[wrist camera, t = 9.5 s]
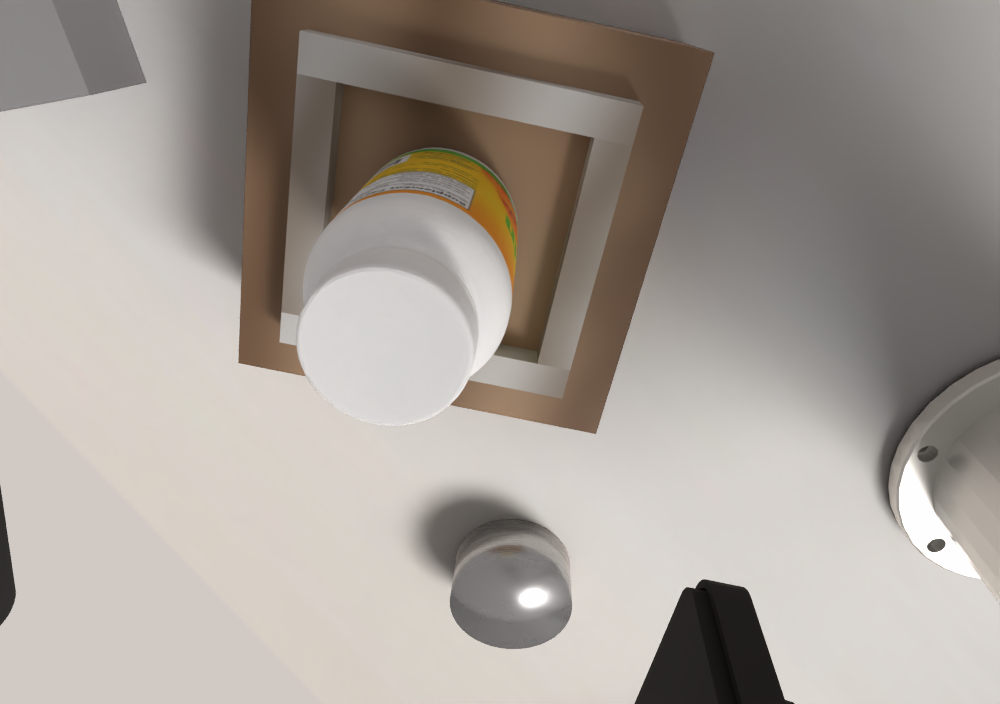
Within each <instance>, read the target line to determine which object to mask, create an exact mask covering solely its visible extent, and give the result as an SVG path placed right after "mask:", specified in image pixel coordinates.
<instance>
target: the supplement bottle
mask: <svg viewBox="0 0 1000 704" xmlns="http://www.w3.org/2000/svg"><path fill="white" fill-rule="evenodd" d="M517 242H518V220H517V214H516V210H515V206H514V203H513V200H512V198H511V196H510V194H509V192H508V190H507V188H506V187H505V185H504V183H503V182H502V181H501V180H500V178H499V177H498V176H497V175H496V174H495V173H494V172H493V171H492V170H491V169H490V168H489V167H488V166H486V165H485V164H484V163H482V162H481V161H479V160H478V159H476V158H474V157H472V156H470V155H468V154H465V153H462V152H459V151H456V150H452V149H447V148H436V147H432V148H422V149H418V150H413V151H410V152H407V153H405V154H402V155H400V156H398V157H397V158H395V159H393V160H391V161H390V162H388V163H387V164H386V165H385V166H383V167H382V168H381V169H380V170H379V171H378V172H377V173H376V174H375V175H374V176H373V177H372V178H371V179H370V180H369V181H368V182H367V183H366V184H365V185H364V186H363V187H362V189H361V190H360V191H359V192H358V193H357V194H356V195H355V196H354V197H353V198H352V199H351V201H350V202H349V203H348V204H347V205H346V206H345V207H344V208H343V209H342V210H341V211H340V212H339V213H338V214H337V215H336V217H335V218H334V219H333V220H332V221H331V222H330V223H329V224H328V225H327V227H326V228H325V229H324V231H323V232H322V233H321V235H320V236H319V238H318V239H317V241H316V242H315V244H314V246H313V248H312V250H311V253H310V255H309V258H308V261H307V264H306V268H305V272H304V278H303V302H304V305H303V308H302V310H301V312H300V315H299V319H298V323H297V328H296V347H297V354H298V358H299V361H300V364H301V366H302V369H303V371H304V373H305V375H306V377H307V378H308V380H309V382H310V383H311V384H312V386H313V387H314V389H315V390H316V391H317V392H318V393H319V394H320V395H321V396H322V397H323V398H324V399H325V400H326V401H327V402H328V403H330V404H331V405H332V406H333V407H335V408H336V409H338V410H340V411H341V412H343V413H345V414H346V415H349V416H351V417H353V418H356V419H358V420H361V421H364V422H368V423H372V424H377V425H386V426H401V425H408V424H413V423H417V422H420V421H423V420H426V419H429V418H431V417H433V416H435V415H436V414H438V413H440V412H441V411H443V410H444V409H446V408H447V407H448V406H449V405H450V404H451V403H452V402H453V401H454V400H455V399H456V398H457V397H458V396H459V395H460V393H461V392H462V390H463V389H464V387H465V385H466V383H467V381H468V379H469V377H470V376H472V375H473V374H475V373H476V372H477V371H478V370H479V369H480V368H481V367H483V366H484V365H485V364H486V362H487V361H488V360H489V359H490V358H491V357H492V356H493V354H494V353H495V351H496V350H497V348H498V346H499V344H500V343H501V341H502V338H503V336H504V334H505V331H506V328H507V325H508V321H509V317H510V313H511V308H512V296H513V286H514V276H515V266H516V254H517Z"/></svg>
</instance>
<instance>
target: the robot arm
mask: <svg viewBox="0 0 1000 704" xmlns="http://www.w3.org/2000/svg"><path fill="white" fill-rule="evenodd" d="M888 489H889V497H890V505H891V508H892V511H893V513H894V515H895V518H896V520H897V523H898V524H899V526H900V527H901V529H902V530H903V532H904V533H905V535H906V536H907V538H908V539H909V541H910V542H911V543H912V545H913V546H914V547H915V548H916V549H917V550H918V551H919V552H920V553H921V554H922V555H923V556H924V557H926V558H928V559H929V560H931V561H932V562H934V563H936V564H937V565H939V566H940V567H942V568H945V569H947V570H950V571H952V572H955V573H958V574H960V575H963V576H969V577H974V578H979V579H981V580H982V581H983V582H984V584H985V585H986V586H987V588H988V589H989V590H990V592H991V593H992V594H993V596H994V597H995V598H996V600H997V601H998V602H999V603H1000V359H998V360H996V361H993V362H991V363H989V364H987V365H984V366H982V367H980V368H978V369H976V370H974V371H973V372H971V373H970V374H968V375H966V376H965V377H963V378H961V379H960V380H958V381H957V382H955V383H953V384H952V385H951V386H949V387H948V388H947V389H946V390H945V391H943V392H942V393H941V394H940V395H939V396H937V397H936V398H935V399H934V400H933V401H931V402H930V403H929V404H928V405H927V407H926V408H925V409H924V410H923V411H922V412H921V413H920V415H919V416H918V417H917V418H916V419H915V420H914V421H913V422H912V424H911V425H910V427H909V429H908V430H907V432H906V434H905V435H904V437H903V438H902V440H901V442H900V443H899V445H898V448H897V451H896V453H895V456H894V459H893V462H892V464H891V469H890V477H889V485H888ZM15 592H16V591H15V584H14V577H13V570H12V563H11V556H10V549H9V543H8V535H7V529H6V522H5V515H4V508H3V501H2V495H1V488H0V625H1V624H2V623H3V622H4V620H5V619H6V617H7V616H8V615H9V613H10V611H11V609H12V606H13V604H14V601H15V596H16V593H15ZM635 704H794V703H793V702H790V701H787V700H785V699H784V696H783V693H782V690H781V687H780V684H779V681H778V678H777V675H776V672H775V669H774V666H773V663H772V660H771V657H770V654H769V651H768V648H767V645H766V642H765V639H764V636H763V633H762V630H761V626H760V623H759V620H758V617H757V614H756V611H755V608H754V605H753V602H752V599H751V596H750V594H749V592H748V590H746V589H745V588H744V587H740V586H735V585H730V584H725V583H720V582H715V581H710V580H701V581H700V582H699V583H698V585H697V587H696V588H695V589H694V588H689V587H686V588H685V589H684V590H683V592H682V594H681V596H680V599H679V601H678V603H677V606H676V608H675V610H674V613H673V615H672V617H671V620H670V622H669V624H668V627H667V629H666V631H665V634H664V636H663V638H662V641H661V643H660V645H659V648H658V650H657V652H656V655H655V657H654V659H653V662H652V664H651V667H650V669H649V671H648V674H647V676H646V678H645V681H644V683H643V685H642V688H641V690H640V692H639V695H638V697H637V699H636V702H635Z"/></svg>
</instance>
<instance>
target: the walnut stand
mask: <svg viewBox="0 0 1000 704" xmlns="http://www.w3.org/2000/svg"><path fill="white" fill-rule="evenodd" d="M713 56H714V53H713V52H710V51H707V50H704V49H701V48H698V47H695V46H692V45H689V44H686V43H682V42H677V41H673V40H668V39H664V38H659V37H655V36H650V35H646V34H641V33H637V32H632V31H628V30H624V29H619V28H615V27H610V26H606V25H601V24H597V23H592V22H588V21H583V20H579V19H574V18H570V17H565V16H561V15H556V14H552V13H547V12H543V11H538V10H534V9H529V8H525V7H520V6H516V5H512V4H507V3H503V2H498V1H494V0H252V4H251V31H250V59H249V87H248V115H247V142H246V170H245V198H244V226H243V253H242V281H241V309H240V337H239V363H241V364H246V365H251V366H256V367H261V368H266V369H271V370H277V371H282V372H287V373H292V374H297V375H302V376H306V375H305V373H304V371H303V369H302V366H301V364H300V361H299V358H298V354H297V347H296V328H297V323H298V319H299V315H300V312H301V310H302V308H303V305H304V302H303V278H304V272H305V268H306V264H307V261H308V258H309V255H310V253H311V250H312V248H313V246H314V244H315V242H316V241H317V239H318V238H319V236H320V235H321V233H322V232H323V231H324V229H325V228H326V227H327V225H328V224H329V223H330V222H331V221H332V220H333V219H334V218H335V217H336V215H337V214H338V213H339V212H340V211H341V210H342V209H343V208H344V207H345V206H346V205H347V204H348V203H349V202H350V201H351V199H352V198H353V197H354V196H355V195H356V194H357V193H358V192H359V191H360V190H361V189H362V187H363V186H364V185H365V184H366V183H367V182H368V181H369V180H370V179H371V178H372V177H373V176H374V175H375V174H376V173H377V172H378V171H379V170H380V169H381V168H382V167H383V166H385V165H386V164H387V163H388V162H390V161H391V160H393V159H395V158H397V157H398V156H400V155H402V154H405V153H407V152H410V151H413V150H418V149H422V148H432V147H436V148H447V149H452V150H456V151H459V152H462V153H465V154H468V155H470V156H472V157H474V158H476V159H478V160H479V161H481V162H482V163H484V164H485V165H486V166H488V167H489V168H490V169H491V170H492V171H493V172H494V173H495V174H496V175H497V176H498V177H499V178H500V180H501V181H502V182H503V183H504V185H505V187H506V188H507V190H508V192H509V194H510V196H511V198H512V200H513V203H514V206H515V210H516V214H517V220H518V242H517V254H516V266H515V276H514V286H513V296H512V308H511V313H510V317H509V321H508V325H507V328H506V331H505V334H504V336H503V338H502V341H501V343H500V344H499V346H498V348H497V350H496V351H495V353H494V354H493V356H492V357H491V358H490V359H489V360H488V361H487V362H486V364H485V365H484V366H483V367H481V368H480V369H479V370H478V371H477V372H476V373H475V374H473V375H472V376H470V377H469V379H468V381H467V383H466V385H465V387H464V389H463V390H462V392H461V393H460V395H459V396H458V397H457V398H456V399H455V400H454V401H453V402H452V403H451V404H450V405H453V406H458V407H463V408H468V409H473V410H478V411H483V412H489V413H494V414H499V415H504V416H509V417H514V418H519V419H524V420H529V421H534V422H539V423H544V424H549V425H554V426H559V427H564V428H569V429H574V430H579V431H584V432H589V433H595V434H596V432H597V428H598V425H599V422H600V419H601V415H602V412H603V409H604V406H605V403H606V399H607V396H608V393H609V390H610V387H611V383H612V380H613V377H614V374H615V371H616V367H617V364H618V361H619V358H620V354H621V351H622V348H623V345H624V342H625V338H626V335H627V332H628V329H629V326H630V322H631V319H632V316H633V313H634V310H635V306H636V303H637V300H638V297H639V293H640V290H641V287H642V284H643V281H644V277H645V274H646V271H647V268H648V265H649V261H650V258H651V255H652V252H653V249H654V245H655V242H656V239H657V236H658V232H659V229H660V226H661V223H662V220H663V216H664V213H665V210H666V207H667V204H668V200H669V197H670V194H671V191H672V188H673V184H674V181H675V178H676V175H677V171H678V168H679V165H680V162H681V159H682V155H683V152H684V149H685V146H686V143H687V139H688V136H689V133H690V130H691V127H692V123H693V120H694V117H695V114H696V110H697V107H698V104H699V101H700V98H701V94H702V91H703V88H704V85H705V82H706V78H707V75H708V72H709V69H710V66H711V62H712V59H713Z"/></svg>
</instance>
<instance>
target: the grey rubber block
mask: <svg viewBox="0 0 1000 704" xmlns="http://www.w3.org/2000/svg"><path fill="white" fill-rule="evenodd" d="M143 83H146V80H145V77H144V74H143V72H142V69H141V66H140V63H139V61H138V58H137V55H136V52H135V49H134V47H133V44H132V41H131V38H130V36H129V33H128V30H127V27H126V25H125V22H124V19H123V16H122V14H121V11H120V8H119V5H118V3H117V0H0V112H1V111H7V110H12V109H18V108H23V107H28V106H34V105H39V104H45V103H50V102H55V101H61V100H66V99H72V98H77V97H83V96H88V95H93V94H97V93H102V92H106V91H111V90H115V89H120V88H124V87H129V86H133V85H138V84H143Z"/></svg>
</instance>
